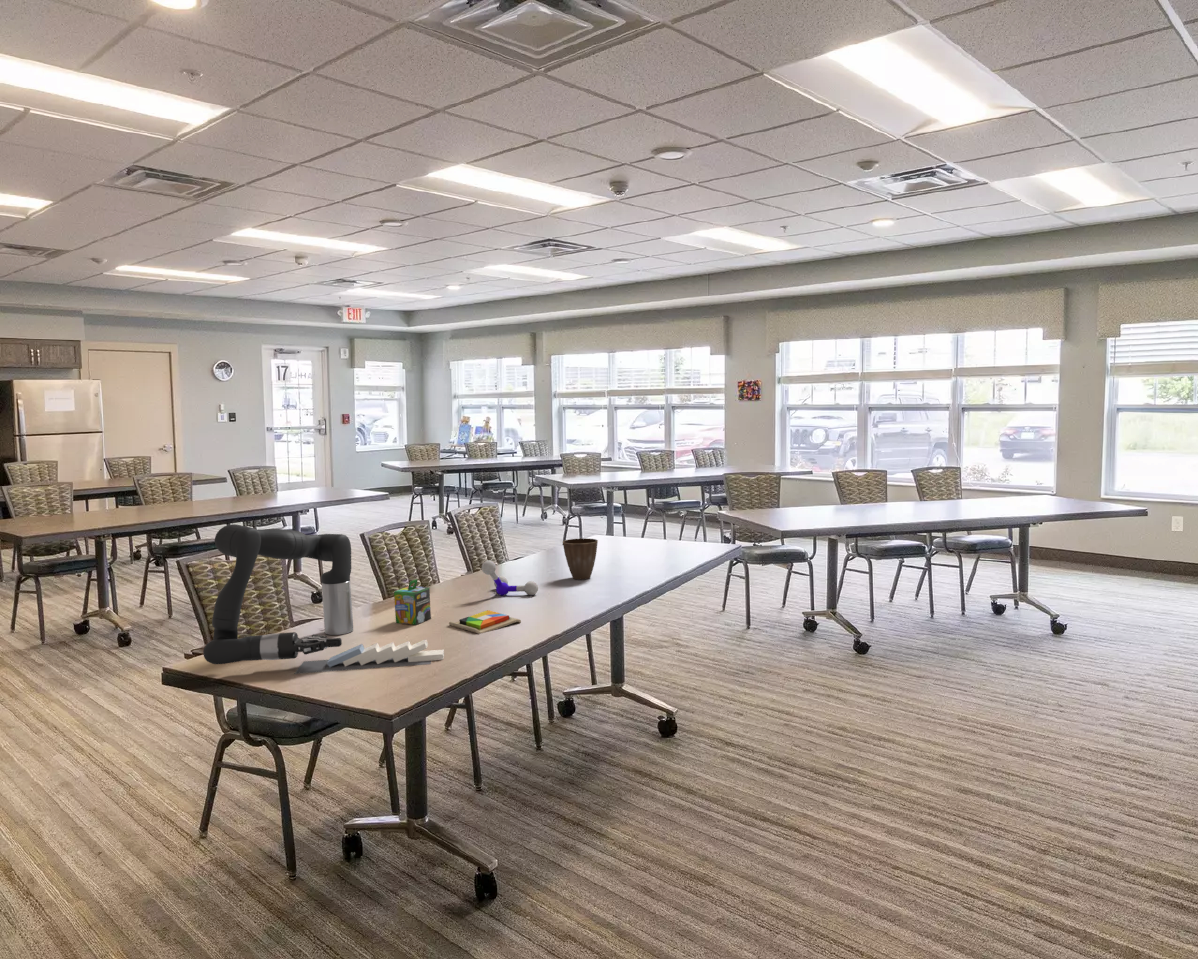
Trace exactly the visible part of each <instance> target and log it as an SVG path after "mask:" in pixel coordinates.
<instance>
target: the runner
mask: <svg viewBox="0 0 1198 959" xmlns="http://www.w3.org/2000/svg"><path fill="white" fill-rule="evenodd" d="M328 660H329V659H317V660H305V661H303V662H302V663H301V664H300V666H299V667H298V668H297V670H296V671H295V672H294V675H299V674H300V675H301V674H312V673H314V674H315V673H326V672H327V673H329V672H341V671H355V670H356V671H357V670H369V669H381V668H382V669H383V668H384V669H385V668H395V667H409V666H410V667H412V666H425V665H426V666H427V665H431V664H432V661H433V660H431V661H417V662H408V657H406V658H404V659H402V660H399V661H397V662H394V660H393V658H391V659H388V660H386V661H384V662H382V663H379V664H377V662H376V660H373V661H370V662H368V663H366V664H363V665H361V664H360V662H359V661H357V662H354V663H352V664H350V665H348V666H345V665H344V663H343V662H341V663H339V664H336V665H334V666H332V667H330V668H329V666H328V664H327V662H328Z"/></svg>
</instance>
